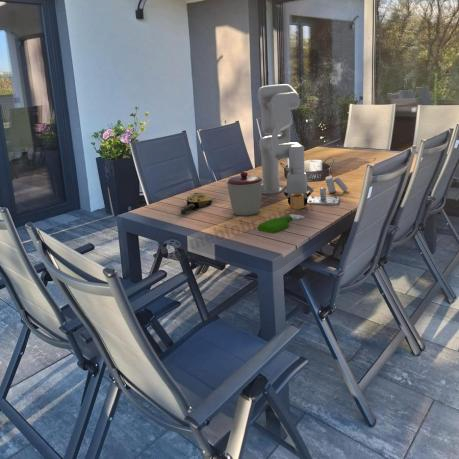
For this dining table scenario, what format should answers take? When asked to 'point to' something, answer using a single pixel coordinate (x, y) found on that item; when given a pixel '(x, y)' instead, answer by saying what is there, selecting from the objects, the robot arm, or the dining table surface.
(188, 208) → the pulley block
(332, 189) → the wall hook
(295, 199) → the tan hollow octagonal block
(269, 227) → the spray bottle
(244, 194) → the canister
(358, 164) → the dining table surface
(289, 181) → the robot arm
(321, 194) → the keeper
